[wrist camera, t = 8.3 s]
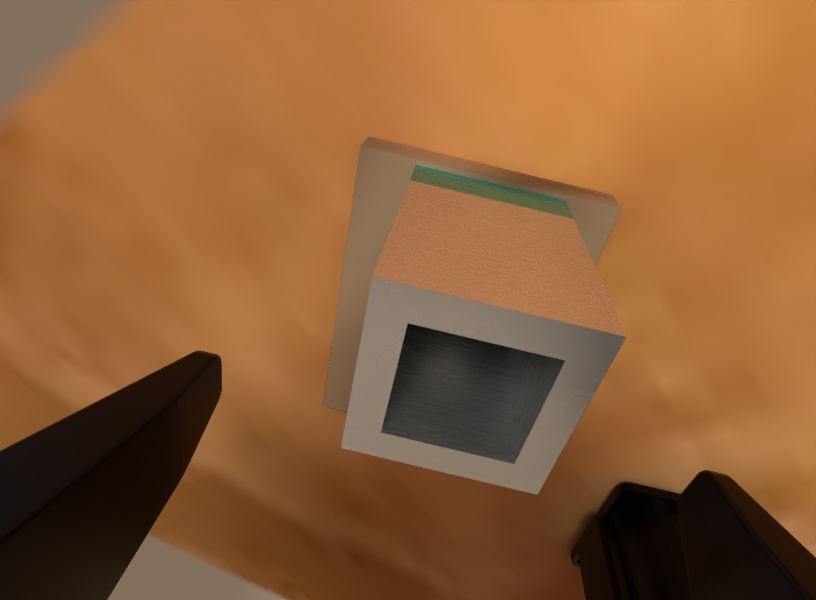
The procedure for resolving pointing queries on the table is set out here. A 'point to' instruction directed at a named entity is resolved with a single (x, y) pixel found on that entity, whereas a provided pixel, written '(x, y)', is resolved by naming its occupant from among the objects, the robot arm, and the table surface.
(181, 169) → the table surface
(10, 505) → the robot arm
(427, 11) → the table surface
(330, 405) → the pin board
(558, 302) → the sleeve
